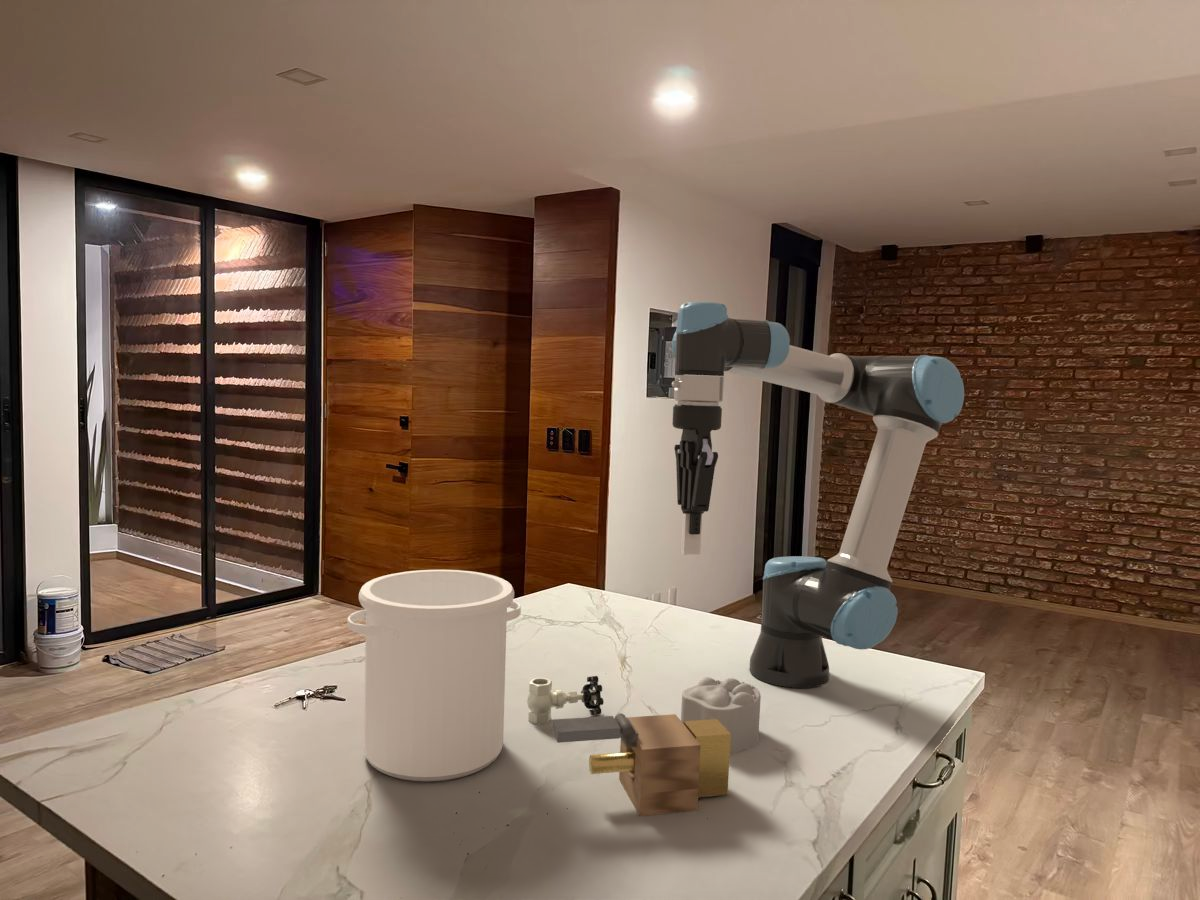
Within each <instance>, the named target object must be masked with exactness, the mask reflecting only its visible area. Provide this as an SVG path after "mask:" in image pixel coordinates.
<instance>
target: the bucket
mask: <svg viewBox="0 0 1200 900" xmlns="http://www.w3.org/2000/svg"><path fill="white" fill-rule="evenodd" d="M514 598H515V590H514V587H513V586H512V584H511V583H510V582H509V581H507V580H505V579H504V578H502V577H499V576H497V575H494V574H488V573H483V572H477V571H473V570H472V571H470V570H461V569H421V570H420V569H419V570H409V571H403V572H402V571H401V572H397V573H396V572H395V573H391V574H387V575H382V576H379V577H376V578H373V579H371V580H369V581H366V582H365V583H364V584H363V585H362V586H361V588H360V589H359V593H358V601H359V604H360V605H361V607H362V608H364V609H361V610H358V611H357V610H356V611H355V612H352V613H350V614H349V615H348V617H347V626H346V627H347V629H348V630H350V631H352V632H354V633H355V634H360V635H363V636H365V642H364V643H365V649H364V652H365V654H364V655H365V657H364V658H365V659H364V725H363V726H364V727H363V728H364V729H363V731H364V732H363V733H364V734H363V741H364V742H363V751H364V755H365V757H366V760H367V762H368V763H369V764H370V766H371V767H373V769H375V770H377V771H379V772H380V773H382V774H384V775H387V776H388V777H392V778H395V779H399V780H404V781H411V782H424V783H426V782H429V783H431V782H442V781H449V780H456V779H460V778H464V777H467V776H469V775H473V774H474V773H477V772H479V771H481V770H483V769H485V768H487V767H488V766H489V765H491V764H493V763H494V761H496V760H497V758H498V757H499V755H500V754H501V751H502V748H503V746H504V729H505V728H504V726H505V725H504V724H505V694H506V693H505V692H506V691H505V689H506V687H505V686H506V658H507V657H506V656H507V654H506V652H507V624H508V623H507V622H508V621H509V622H510V621H512V620H515V619H517V618H519V617H520V616H521V613H522V608H521V607H522V606H521V604H520V603H519V602H517V601H515V600H514ZM509 608H510V609H512V610H510V611H508V609H509ZM364 619H365V624H362V623H356V622H358V621H360V620H364Z"/></svg>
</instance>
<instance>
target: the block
mask: <svg viewBox="0 0 1200 900" xmlns="http://www.w3.org/2000/svg"><path fill="white" fill-rule="evenodd" d="M614 719H615V720H616V722H617V724H618V725H619V727H620V738H619V739H620V747H619V748H620V749H619V750H620V751H619V753H624V752H634V753H635V770H634V771H624V772H618V780H619V781H620V783H621V785H622V787H623V790H625V792H626V795H627V796H628V798H629V800H630V801H631V803H632V805H633V807H634V809H635V811H636V813H637V814H638V816H639V817H643V816H653V815H661V814H662V815H663V814H664V815H665V814H672V813H683V812H684V813H685V812H693V811H694V812H696V811H698V803H699V797H698V786H699V767H700V748H701V745H700V744H699V742H698V741H697V740H696V739H695V738H694V736H693V735H692V734H691V733H690V731H689V730H688V729H687V728H686V726H685V725H684V724H683V723H682V722H681V718H679V717H678V716H677V714H675V713H674V714H673V713H672V714H671V713H670V714H661V715H660V714H659V715H645V716H643V715H642V716H629V717H626V715H625V714H624V713H622V712H621V713H620V712H619V713H617V714H616V715H615V716H614Z"/></svg>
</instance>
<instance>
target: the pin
mask: <svg viewBox="0 0 1200 900" xmlns="http://www.w3.org/2000/svg"><path fill="white" fill-rule="evenodd" d="M683 724H684V725H685V726H686V728H687V729H688V730H689V731H690V733H691V734H692V735H693V736H694V738H695V739H696V740H697V741H698V742H699V744H700V745H701V748H700V767H699V786H698V798H703V797H715V796H727V795H728V793H729V789H728V788H729V776H730V775H729V773H730V757H731V754H730V740H731V734H730V733H729V732H728V730H727V729H726V728H725V727H724V726H723V725H722V724H721V723H720V722H719V721H718V720H717V719H709V720H695V721H684V723H683ZM588 758H589V759H588V767H589V772H590V775H597V774H599V775H600V774H609V773H612V774H613V773H619V772H624V771H634V770H635V753H634V752H624V753H620V752H616V753H615V752H613V753H600V754H599V753H598V754H590V755H589V757H588Z"/></svg>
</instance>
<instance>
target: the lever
mask: <svg viewBox="0 0 1200 900" xmlns="http://www.w3.org/2000/svg"><path fill="white" fill-rule="evenodd" d="M551 731H552V733H553V736H554V738H555V740H556V742H557V743H572V742H573V743H574V742H586V741H587V742H588V741H599V740H600V741H602V740H616V739H618V740H619V739H621V738H620V727H619V725H618V724H617V722H616V720H615V716H613V715H603V716H589V717H573V718H570V717H569V718H557V719H555V718H553V719H551Z"/></svg>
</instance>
